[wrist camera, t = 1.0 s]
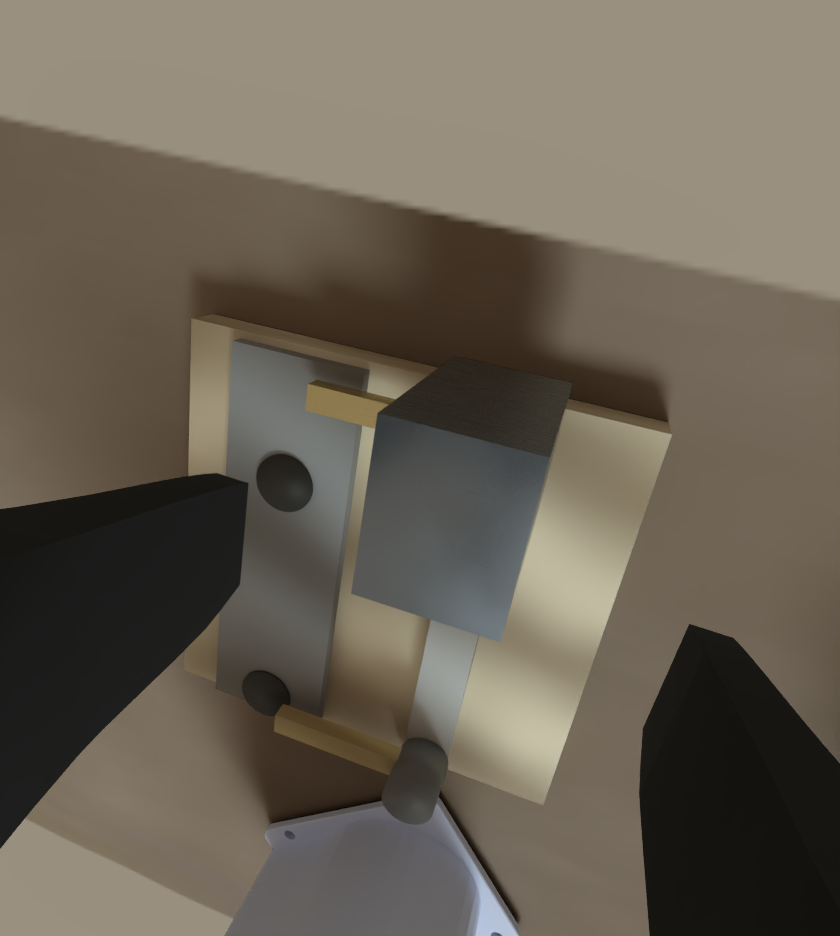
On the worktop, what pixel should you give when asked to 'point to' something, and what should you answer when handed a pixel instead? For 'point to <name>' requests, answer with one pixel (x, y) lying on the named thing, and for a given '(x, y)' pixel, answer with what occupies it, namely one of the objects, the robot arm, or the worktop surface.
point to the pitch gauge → (383, 627)
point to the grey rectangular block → (451, 487)
